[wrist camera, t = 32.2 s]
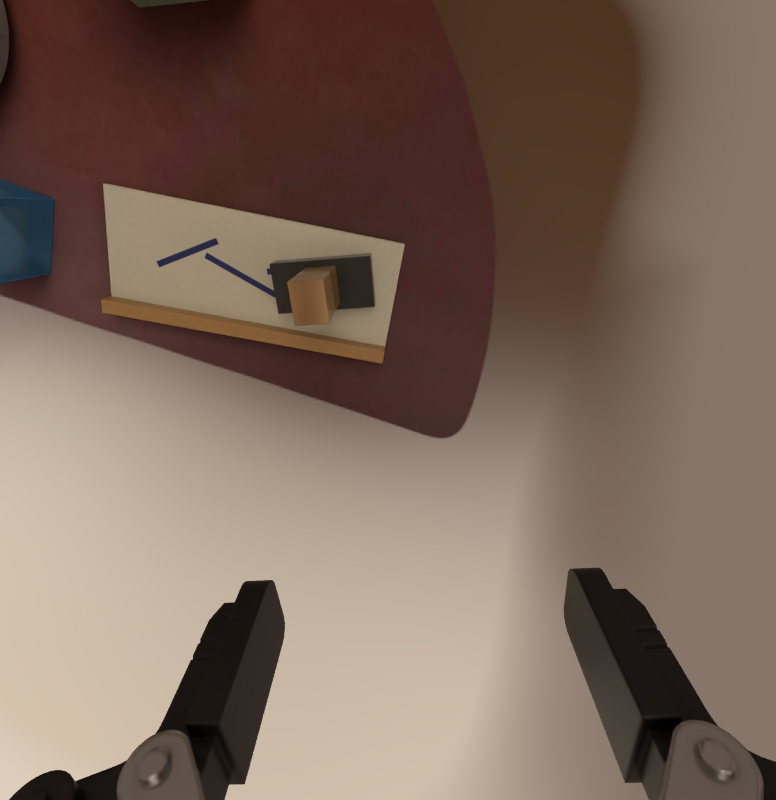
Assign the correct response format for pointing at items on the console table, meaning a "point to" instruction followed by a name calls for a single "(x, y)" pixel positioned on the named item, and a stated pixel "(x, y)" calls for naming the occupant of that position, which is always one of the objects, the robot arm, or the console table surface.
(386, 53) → the console table surface
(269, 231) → the board
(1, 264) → the perfume bottle
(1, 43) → the dish
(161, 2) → the block
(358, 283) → the eraser
